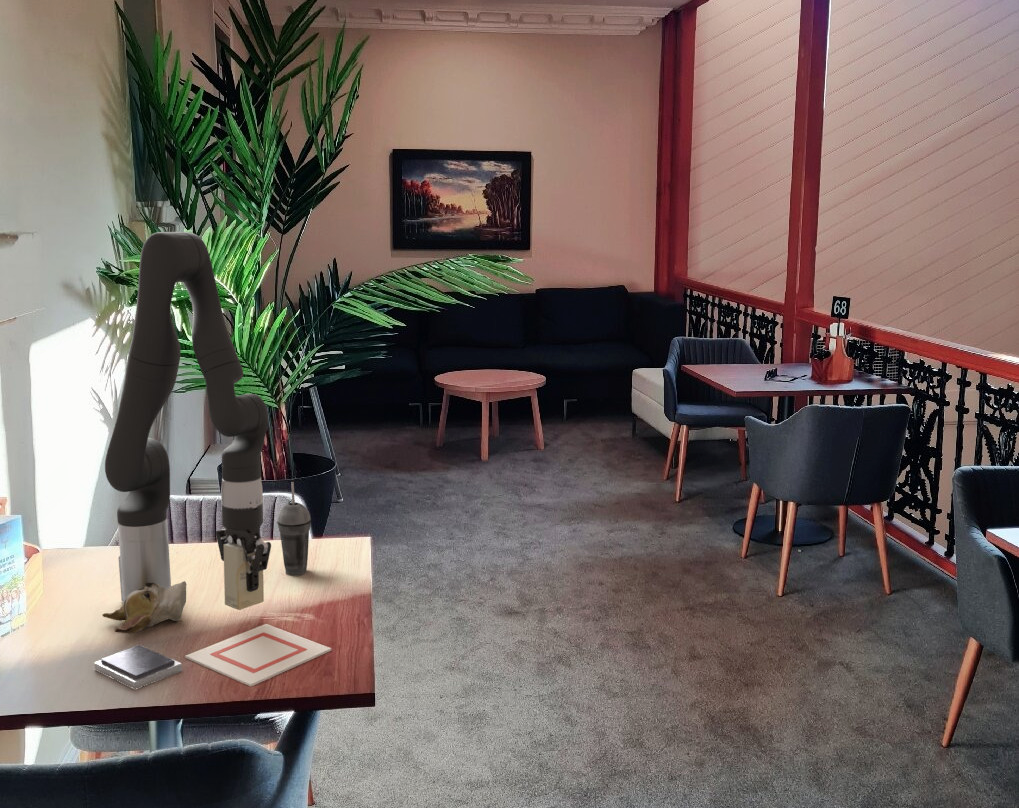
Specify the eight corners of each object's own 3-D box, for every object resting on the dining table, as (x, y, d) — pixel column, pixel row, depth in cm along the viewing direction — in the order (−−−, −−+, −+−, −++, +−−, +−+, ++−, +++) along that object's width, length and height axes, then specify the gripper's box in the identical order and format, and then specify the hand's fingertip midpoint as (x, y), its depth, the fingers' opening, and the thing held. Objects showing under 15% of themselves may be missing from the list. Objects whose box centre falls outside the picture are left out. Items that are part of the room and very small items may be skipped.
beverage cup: (279, 579, 220) (276, 488, 216) (278, 568, 227) (274, 480, 223) (314, 576, 222) (311, 486, 218) (311, 565, 229) (308, 478, 225)
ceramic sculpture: (193, 581, 194) (111, 602, 186) (198, 624, 196) (117, 647, 188) (176, 565, 203) (97, 585, 194) (181, 607, 204) (103, 628, 196)
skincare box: (238, 611, 193) (237, 549, 190) (223, 605, 195) (222, 544, 193) (265, 601, 198) (264, 541, 195) (250, 595, 200) (249, 536, 198)
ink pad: (94, 670, 176) (94, 659, 176) (141, 652, 184) (140, 642, 183) (135, 690, 169) (134, 678, 169) (181, 670, 176) (181, 660, 176)
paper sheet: (185, 657, 181) (185, 655, 181) (266, 625, 195) (266, 623, 195) (250, 686, 171) (250, 683, 171) (331, 650, 185) (331, 647, 185)
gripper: (201, 497, 194) (204, 583, 197) (250, 513, 185) (252, 602, 189) (234, 489, 200) (236, 573, 203) (282, 504, 191) (284, 591, 194)
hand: (244, 586), depth 196 cm, fingers closed on skincare box, 4 cm apart
